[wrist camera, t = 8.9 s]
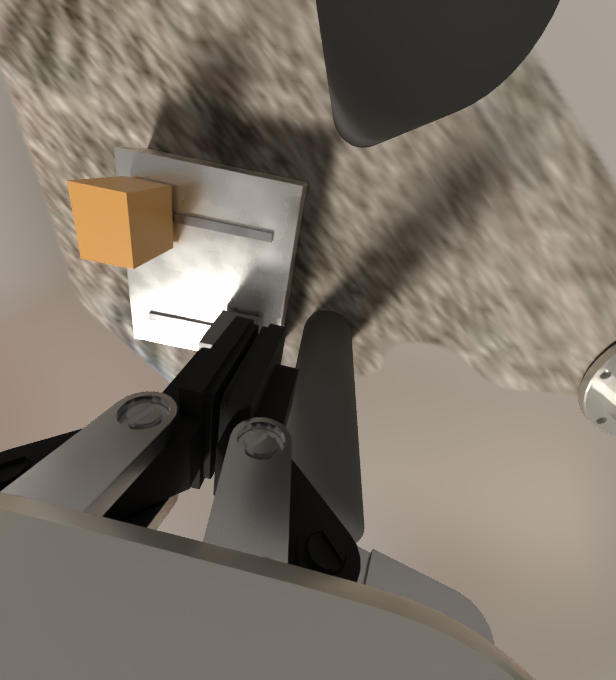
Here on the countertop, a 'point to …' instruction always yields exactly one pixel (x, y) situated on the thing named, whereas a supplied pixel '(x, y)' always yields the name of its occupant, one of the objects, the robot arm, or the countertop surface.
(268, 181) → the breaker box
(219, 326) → the grey small block
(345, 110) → the post
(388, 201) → the countertop surface
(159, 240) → the tab orange
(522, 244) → the countertop surface
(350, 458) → the post
